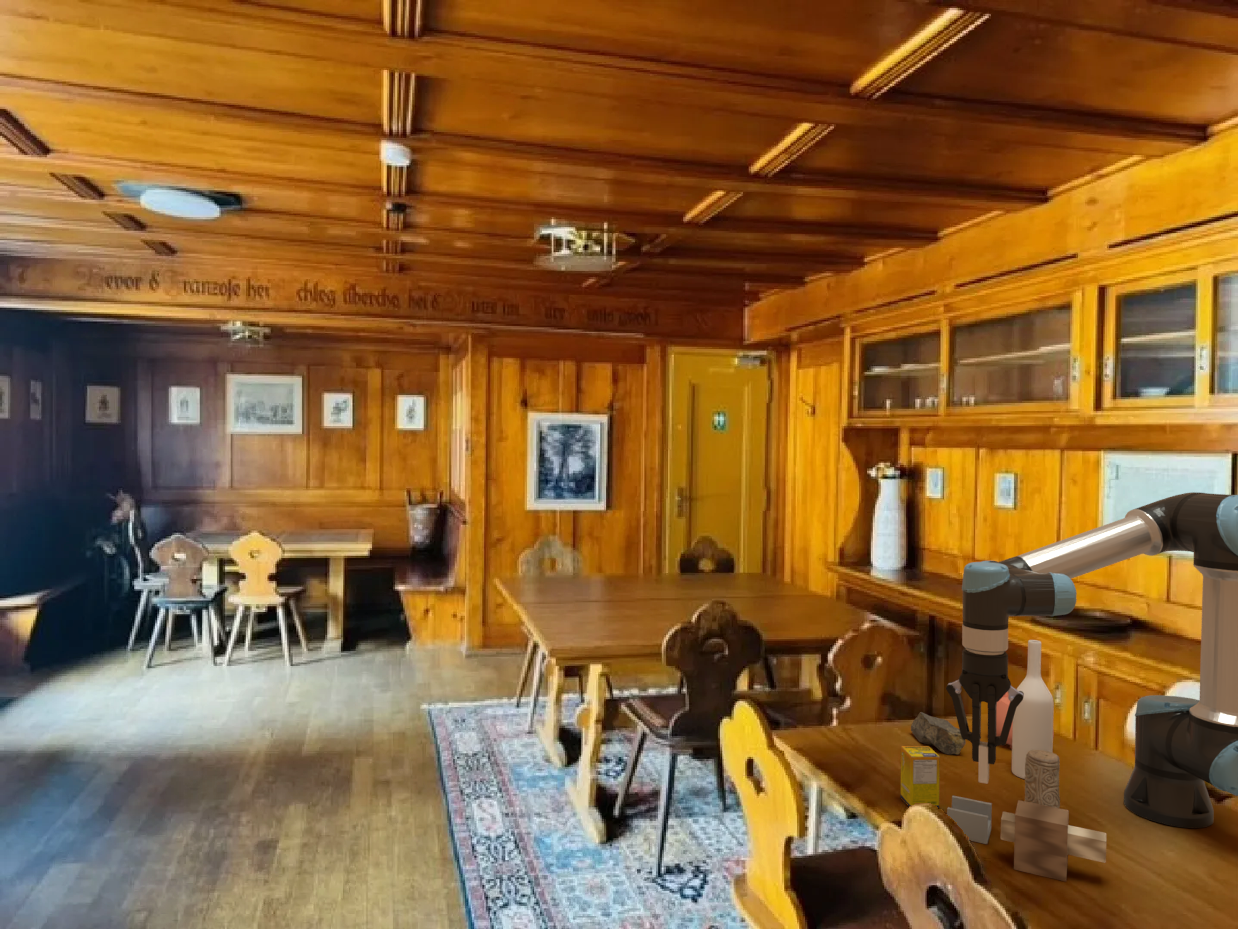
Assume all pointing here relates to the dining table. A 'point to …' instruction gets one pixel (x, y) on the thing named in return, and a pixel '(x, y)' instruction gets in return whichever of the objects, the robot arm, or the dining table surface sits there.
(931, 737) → the rock
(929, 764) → the supplement box
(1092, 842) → the axle bar
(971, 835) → the cradle
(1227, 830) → the dining table surface
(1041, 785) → the carving
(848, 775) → the dining table surface
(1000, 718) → the teapot
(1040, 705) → the bottle
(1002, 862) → the dining table surface
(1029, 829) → the block
